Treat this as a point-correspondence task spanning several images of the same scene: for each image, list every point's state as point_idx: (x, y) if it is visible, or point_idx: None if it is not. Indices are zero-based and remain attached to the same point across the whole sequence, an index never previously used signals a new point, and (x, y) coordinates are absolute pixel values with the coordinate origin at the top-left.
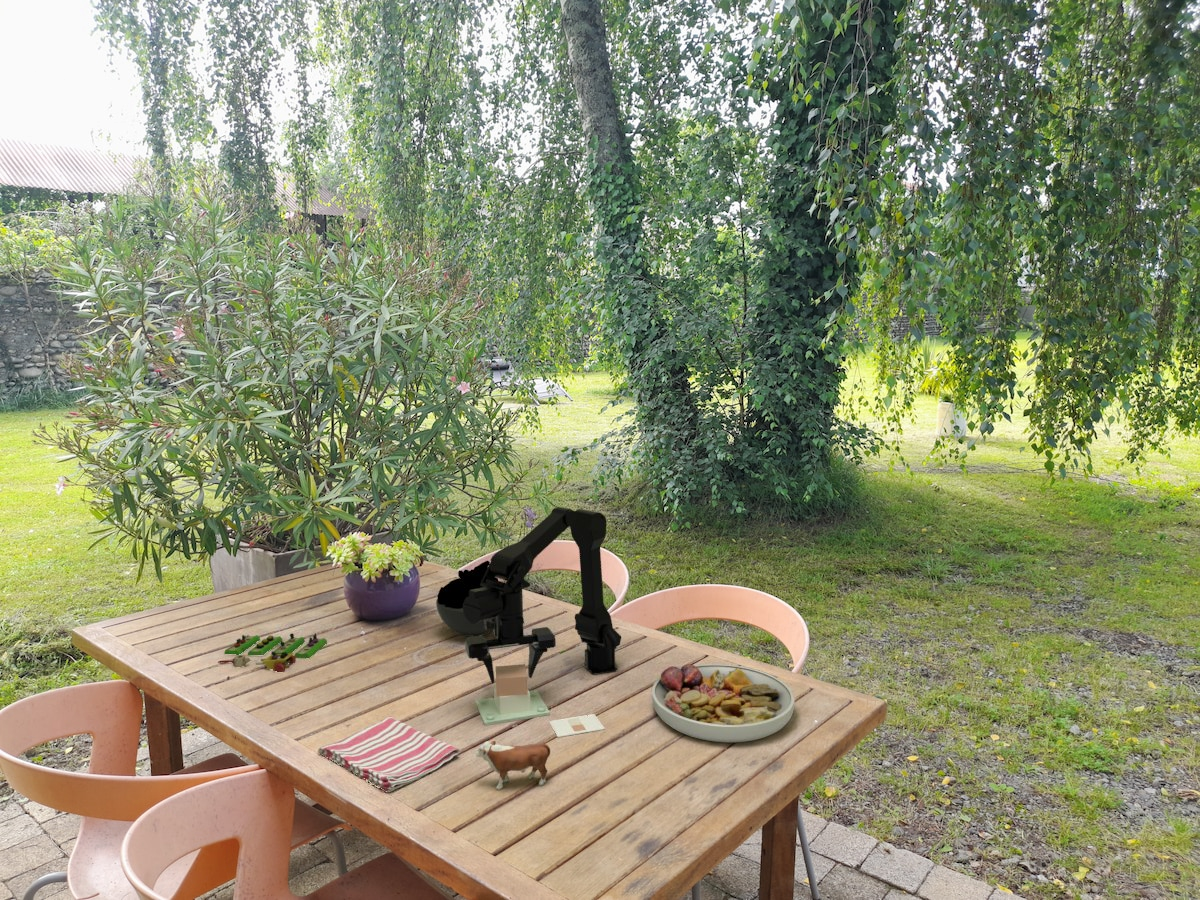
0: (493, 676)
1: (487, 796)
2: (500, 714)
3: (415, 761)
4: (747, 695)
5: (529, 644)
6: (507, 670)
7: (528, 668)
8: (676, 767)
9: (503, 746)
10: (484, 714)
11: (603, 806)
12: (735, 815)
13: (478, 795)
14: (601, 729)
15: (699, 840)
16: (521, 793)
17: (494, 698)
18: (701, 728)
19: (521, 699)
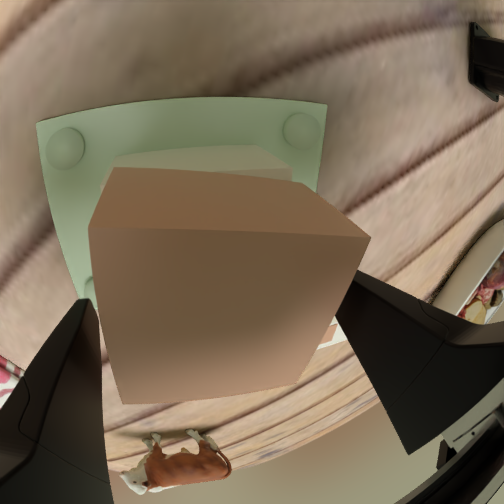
0: (98, 382)
1: (133, 444)
2: None
3: (3, 399)
4: (490, 301)
5: (497, 371)
6: (204, 326)
7: (355, 290)
8: (359, 391)
9: (165, 488)
10: (75, 257)
11: (259, 441)
12: (343, 422)
13: (121, 443)
14: None
15: (304, 443)
16: (176, 442)
17: (112, 162)
18: None
19: None
